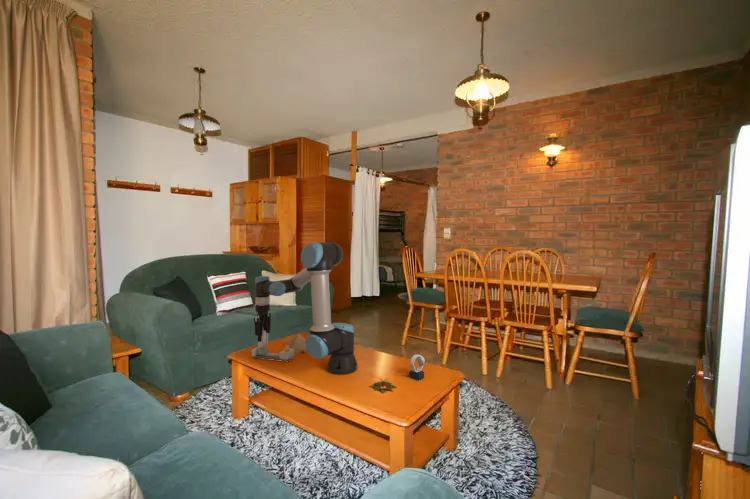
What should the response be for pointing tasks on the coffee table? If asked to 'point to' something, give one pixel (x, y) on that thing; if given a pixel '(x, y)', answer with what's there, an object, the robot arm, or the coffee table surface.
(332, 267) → the robot arm
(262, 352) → the carriage
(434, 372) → the coffee table surface
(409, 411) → the coffee table surface
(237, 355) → the coffee table surface
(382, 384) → the green leafy ornament
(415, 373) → the watch
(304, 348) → the model pyramid
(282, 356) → the rail bench
